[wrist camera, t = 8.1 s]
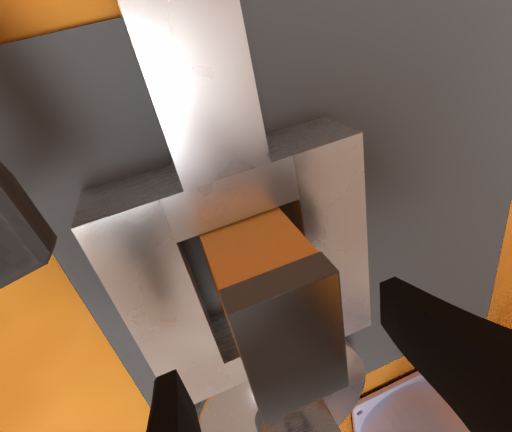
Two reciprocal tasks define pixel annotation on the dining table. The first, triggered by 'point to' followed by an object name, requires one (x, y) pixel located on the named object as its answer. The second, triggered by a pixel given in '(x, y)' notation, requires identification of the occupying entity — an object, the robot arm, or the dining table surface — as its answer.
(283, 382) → the orange grey two-tone block
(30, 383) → the dining table surface
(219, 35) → the scaffold node
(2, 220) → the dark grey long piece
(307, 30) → the site mat
